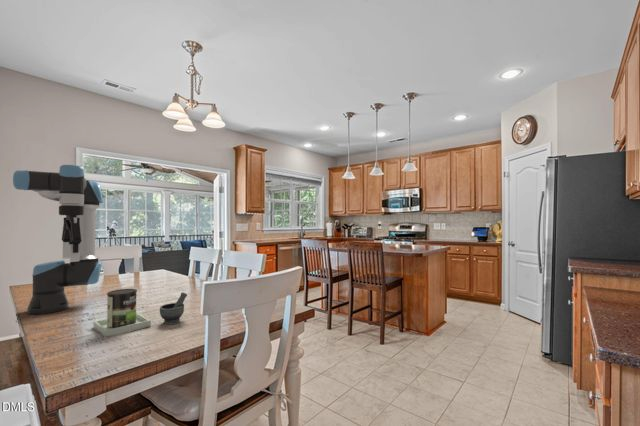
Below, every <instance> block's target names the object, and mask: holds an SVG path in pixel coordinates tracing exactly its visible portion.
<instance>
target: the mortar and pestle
mask: <svg viewBox="0 0 640 426" xmlns="http://www.w3.org/2000/svg"><path fill="white" fill-rule="evenodd" d="M187 297H188V294H187V293H185V292H181V293H180V295H179V297H178V299H177V301H176V302H173V303H172V302H171V303H166V304H165V303H164V304H163V305H160V306H159V315H160V317H161V318H162V319H163V321H164V323H163V324H164V325H175V324H178V323H179V322H180V320H181V319H180V318H181V317H182V316H183V315H184V311H185V303H184V302H185V300H186V298H187Z"/></svg>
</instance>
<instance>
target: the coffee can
mask: <svg viewBox="0 0 640 426" xmlns="http://www.w3.org/2000/svg"><path fill="white" fill-rule="evenodd" d="M137 291H138V290H137V289H135V288H121V289H114V290H110V291H107V293H106V295H107V317H106V319H107V329H113V328H118V327H122V326H126V325H131V324H135V323H136V313H137Z"/></svg>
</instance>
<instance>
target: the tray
mask: <svg viewBox="0 0 640 426" xmlns="http://www.w3.org/2000/svg"><path fill="white" fill-rule="evenodd" d="M151 322H152V321H151V319H150V318H147V317H146V316H144V315H142V314H140V313H139V312H136V323H135V324H131V325H126V326H122V327H118V328H113V329H107V318H104V319H101V320H95V321H93V329H94V330H95V331H97V332H98V333H99V334H100V335H102V337H103V338H111V337H113V336H114V337H115V336H118V335H121V334H127V333H129V332H134V331H138V330H141V329H146V328H150V327H151V326H152V325H151V324H152V323H151Z"/></svg>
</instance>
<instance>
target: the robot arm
mask: <svg viewBox="0 0 640 426" xmlns="http://www.w3.org/2000/svg"><path fill="white" fill-rule="evenodd" d="M12 184H13V187H14V188H15V189H16V190H19V191H21V190H22V191H33V192H36V193H38V195H39V196H40V197H42V198H44V199H48V200H51V201H54V202H58V204H59V206H58V215H59V216H65V217H63V219H62V220H63V225H62V226H63V227H62V233H61V241H62V260H54V261H53V260H52V261H49V262H42V263H40V264H36V265H35V266H33V269H32V275H31V276H32V297H31V298H30V301H29V304H28V306H27V310H26V314H28V315H46V314H51V313H57V312H60V311H64V310H66V309H68V308H69V301H68V298H67V296H66V293H65V288H67V287H76V286H89V285H94V284H95V285H96V284H97V283H98V282H99V279H100V276H101V272H102V271H101V270H102V264H103V262H102V261H101V260H99V257H98V256H97V255H96V224H97V223H96V216H97V213H96V212H97V211H96V210H97V209H98V208H99V207H100V204H102V203H103V192H102V188H101V183H100V182H99V181H95V180H87V178H86V177H85V168H84V167H83V166H82V165H74V164H61V165H60V166H59V172H48V171H37V170H34V171H33V170H27V169H25V170H16V171H14V173H13V176H12ZM63 259H64V260H63ZM65 259H67V260H68V259H69V262H67V263H66V261H65Z"/></svg>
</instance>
